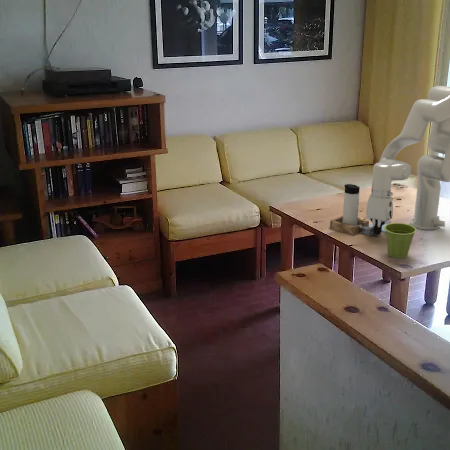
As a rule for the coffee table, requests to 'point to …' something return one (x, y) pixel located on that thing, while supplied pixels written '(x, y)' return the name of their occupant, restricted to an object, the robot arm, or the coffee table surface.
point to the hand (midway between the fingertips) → (377, 234)
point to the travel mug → (351, 204)
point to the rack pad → (382, 227)
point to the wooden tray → (353, 230)
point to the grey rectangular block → (366, 230)
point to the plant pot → (399, 239)
